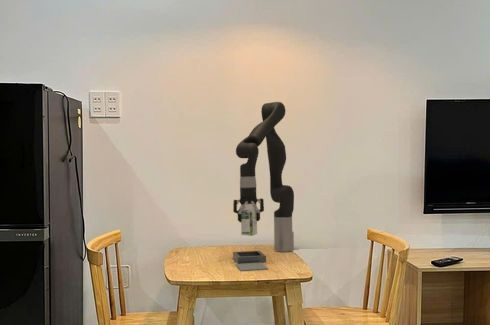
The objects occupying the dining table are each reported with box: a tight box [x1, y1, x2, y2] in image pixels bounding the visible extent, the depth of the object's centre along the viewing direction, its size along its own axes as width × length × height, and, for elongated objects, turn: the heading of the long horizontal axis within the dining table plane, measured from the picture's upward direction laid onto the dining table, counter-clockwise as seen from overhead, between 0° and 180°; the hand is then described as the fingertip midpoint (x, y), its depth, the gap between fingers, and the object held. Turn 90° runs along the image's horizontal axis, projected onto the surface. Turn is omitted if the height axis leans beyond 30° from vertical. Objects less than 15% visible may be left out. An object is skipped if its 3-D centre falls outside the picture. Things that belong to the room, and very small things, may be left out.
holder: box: [232, 250, 267, 264], centre depth 226 cm, size 13×13×3 cm
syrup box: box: [240, 203, 258, 237], centre depth 226 cm, size 6×6×14 cm
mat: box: [234, 262, 269, 272], centre depth 212 cm, size 12×12×1 cm
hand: (248, 221), depth 226 cm, fingers closed on syrup box, 8 cm apart
